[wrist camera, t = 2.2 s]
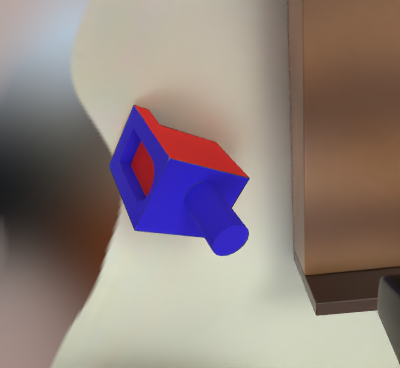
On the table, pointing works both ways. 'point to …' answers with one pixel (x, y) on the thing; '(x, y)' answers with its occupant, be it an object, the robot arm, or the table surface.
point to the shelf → (345, 148)
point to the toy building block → (178, 183)
